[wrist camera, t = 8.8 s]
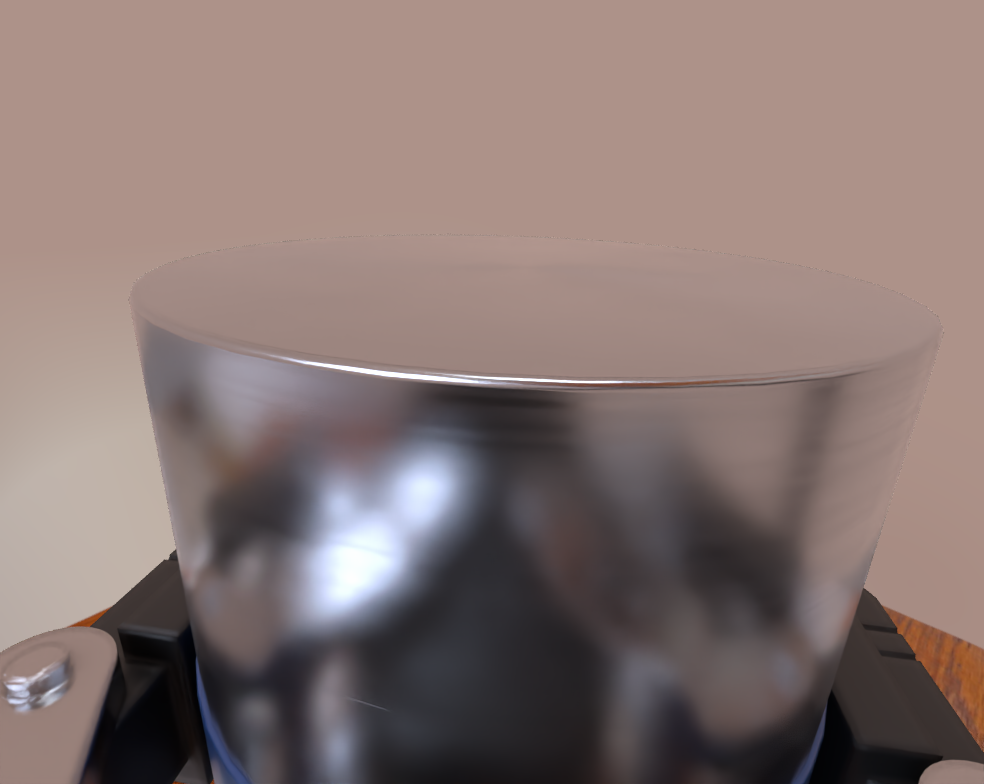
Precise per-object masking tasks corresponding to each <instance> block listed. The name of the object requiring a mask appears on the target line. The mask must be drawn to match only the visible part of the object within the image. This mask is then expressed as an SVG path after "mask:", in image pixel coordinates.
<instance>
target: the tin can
mask: <svg viewBox="0 0 984 784" xmlns="http://www.w3.org/2000/svg"><path fill="white" fill-rule="evenodd" d="M129 304H130V308H131V314H132V319H133V325H134V330H135V335H136V340H137V346H138V351H139V356H140V361H141V367H142V372H143V377H144V382H145V388H146V393H147V398H148V403H149V409H150V413H151V419H152V424H153V429H154V435H155V440H156V445H157V451H158V456H159V461H160V466H161V471H162V477H163V482H164V487H165V492H166V498H167V503H168V509H169V514H170V519H171V524H172V529H173V535H174V540H175V545H176V551H177V556H178V561H179V566H180V572H181V577H182V582H183V587H184V593H185V598H186V603H187V608H188V614H189V619H190V624H191V629H192V635H193V640H194V645H195V650H196V677H197V696H198V701H199V706H200V712H201V717H202V722H203V727H204V732H205V737H206V742H207V747H208V752H209V758H210V763H211V768H212V773H213V778H214V783H215V784H809V781H810V778H811V775H812V772H813V769H814V766H815V763H816V759H817V756H818V753H819V750H820V747H821V744H822V741H823V738H824V732H825V723H826V713H827V704H828V698H829V695H830V692H831V688H832V685H833V682H834V679H835V676H836V673H837V669H838V666H839V663H840V660H841V657H842V654H843V650H844V647H845V644H846V641H847V638H848V635H849V632H850V628H851V625H852V622H853V619H854V616H855V613H856V609H857V606H858V603H859V600H860V597H861V594H862V590H863V587H864V584H865V581H866V578H867V575H868V571H869V568H870V565H871V562H872V559H873V556H874V552H875V549H876V546H877V543H878V539H879V536H880V534H881V530H882V527H883V524H884V521H885V518H886V515H887V511H888V508H889V505H890V502H891V499H892V496H893V492H894V489H895V486H896V483H897V480H898V477H899V473H900V470H901V467H902V464H903V461H904V458H905V454H906V451H907V448H908V445H909V441H910V439H911V435H912V432H913V429H914V426H915V423H916V420H917V417H918V413H919V410H920V407H921V404H922V401H923V397H924V394H925V391H926V388H927V385H928V382H929V379H930V375H931V372H932V369H933V366H934V363H935V360H936V356H937V353H938V350H939V347H940V344H941V340H942V338H943V334H944V332H943V327H942V325H941V323H940V320H939V318H938V316H937V315H936V314H934V313H933V312H932V311H931V310H930V309H928V308H927V307H926V306H924V305H923V304H921V303H919V302H917V301H915V300H913V299H911V298H909V297H907V296H905V295H903V294H901V293H898V292H895V291H893V290H890V289H888V288H885V287H882V286H880V285H876V284H873V283H870V282H866V281H863V280H859V279H856V278H853V277H849V276H845V275H841V274H836V273H832V272H829V271H824V270H819V269H814V268H810V267H805V266H800V265H794V264H789V263H784V262H778V261H773V260H767V259H760V258H754V257H748V256H741V255H734V254H727V253H719V252H712V251H704V250H696V249H687V248H679V247H669V246H659V245H648V244H638V243H627V242H614V241H601V240H586V239H570V238H551V237H550V238H549V237H528V236H498V235H496V236H495V235H386V236H385V235H383V236H356V237H336V238H320V239H306V240H295V241H283V242H275V243H265V244H258V245H249V246H242V247H236V248H229V249H224V250H218V251H213V252H207V253H203V254H199V255H195V256H191V257H186V258H183V259H180V260H177V261H174V262H170V263H167V264H165V265H162V266H160V267H158V268H156V269H154V270H151V271H149V272H147V273H145V274H144V275H143V276H141V277H140V278H139V279H138V280H136V282H134V284H133V287H132V290H131V292H130V296H129Z"/></svg>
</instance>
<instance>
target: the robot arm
mask: <svg viewBox="0 0 984 784" xmlns="http://www.w3.org/2000/svg"><path fill="white" fill-rule="evenodd" d="M213 779H214V778H213V773H212V768H211V763H210V758H209V752H208V747H207V742H206V737H205V732H204V727H203V722H202V717H201V712H200V706H199V701H198V696H197V677H196V650H195V645H194V640H193V635H192V629H191V624H190V619H189V614H188V608H187V603H186V598H185V593H184V587H183V582H182V577H181V572H180V566H179V561H178V556H177V551H176V550H175V551H174V552H172V553H171V554H170V557H169V560H164V561H163V562H161V563H160V564H159V565H158V566H157V567H156V568H155V569H154V570H152V571H151V572H150V573H149V574H148V575H147V576H146V577H145V578H144V579H142V580H141V581H140V582H139V583H138V584H137V585H136V586H135V587H134V588H132V589H131V590H130V591H129V592H128V593H127V594H126V595H125V596H124V597H123V598H121V599H120V600H119V601H118V602H117V603H116V604H115V605H114V606H112V607H111V608H110V609H109V610H108V611H107V612H106V613H105V614H104V615H102V616H101V617H100V618H99V619H98V620H97V621H96V622H95V623H94V624H92V625H91V626H90V627H69V628H62V629H57V630H53V631H49V632H45V633H42V634H39V635H36V636H33V637H31V638H29V639H26V640H24V641H21V642H19V643H17V644H15V645H13V646H11V647H10V648H7V649H6V650H4V651H2V652H1V653H0V784H172V783H173V782H174V781H176V782H181V783H187V784H211V782H212V780H213ZM809 784H984V753H983V751H982V750H981V748H980V747H979V746H978V744H977V743H976V741H975V740H974V738H973V737H972V735H971V734H970V733H969V731H968V730H967V728H966V727H965V725H964V724H963V722H962V721H961V720H960V718H959V717H958V715H957V714H956V712H955V711H954V709H953V708H952V707H951V705H950V704H949V702H948V701H947V699H946V698H945V696H944V695H943V694H942V692H941V691H940V689H939V688H938V686H937V685H936V683H935V682H934V681H933V679H932V678H931V676H930V675H929V673H928V672H927V670H926V669H925V668H924V666H923V665H922V663H921V662H920V661H916V659H915V653H914V652H913V650H912V649H911V647H910V646H909V645H908V643H907V642H906V640H905V639H904V637H903V636H902V635H901V634H898V633H897V627H896V626H895V624H894V623H893V621H892V620H891V619H890V617H889V616H888V614H887V613H886V611H885V610H884V608H883V607H882V606H881V604H880V603H879V601H878V600H877V598H876V597H874V596H873V595H872V594H871V593H869V592H868V591H867V590H866V589H864V588H863V590H862V594H861V597H860V600H859V603H858V606H857V609H856V613H855V616H854V619H853V622H852V625H851V628H850V632H849V635H848V638H847V641H846V644H845V647H844V650H843V654H842V657H841V660H840V663H839V666H838V669H837V673H836V676H835V679H834V682H833V685H832V688H831V692H830V695H829V698H828V704H827V713H826V723H825V732H824V738H823V741H822V744H821V747H820V750H819V753H818V756H817V759H816V763H815V766H814V769H813V772H812V775H811V778H810V781H809Z"/></svg>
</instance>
